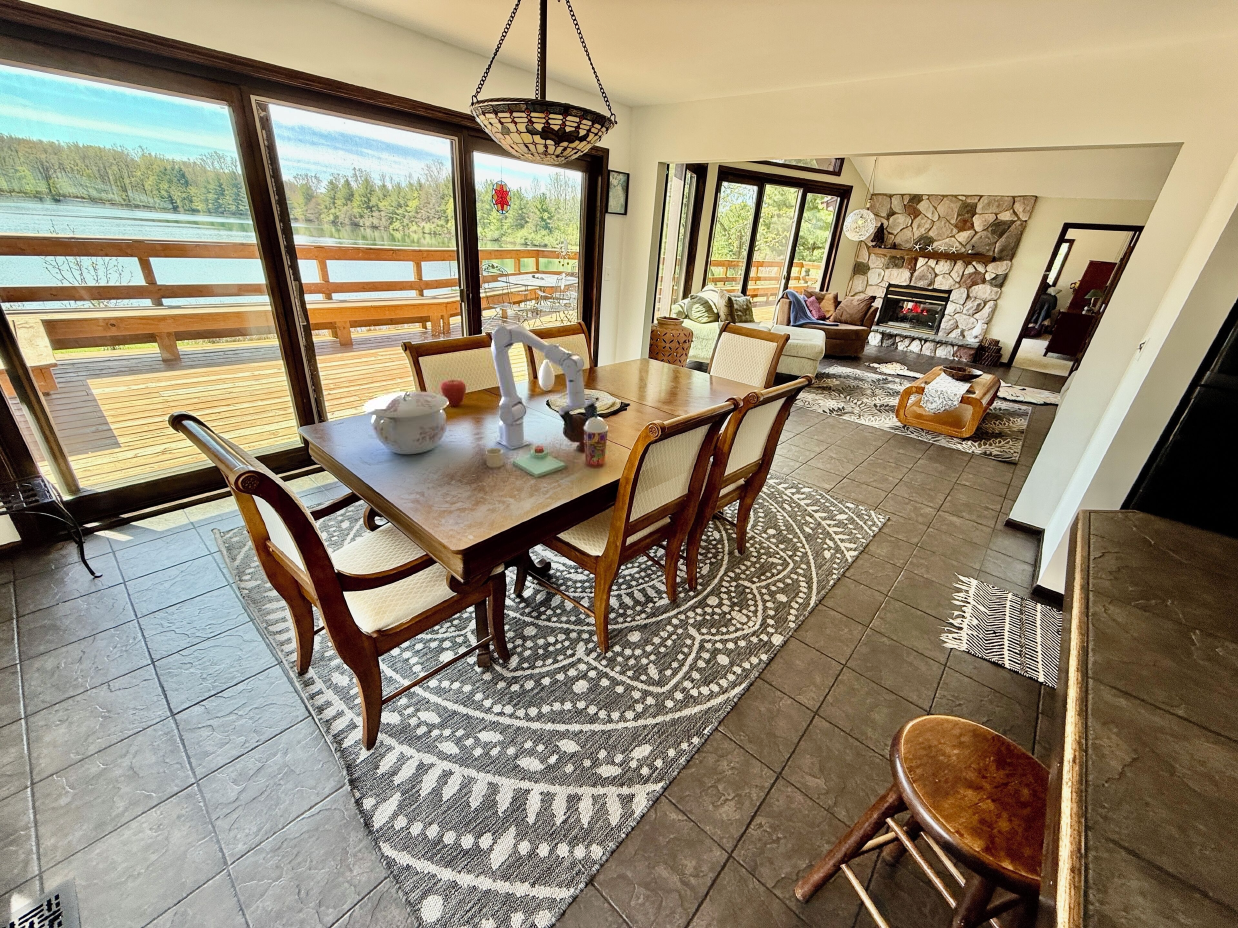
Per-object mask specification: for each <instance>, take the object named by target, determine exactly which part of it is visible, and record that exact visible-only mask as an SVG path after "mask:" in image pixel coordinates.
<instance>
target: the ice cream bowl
mask: <svg viewBox="0 0 1238 928" xmlns="http://www.w3.org/2000/svg"><path fill="white" fill-rule="evenodd" d="M572 415H573V419H572V425H573V433H570V432H568V430H567V427H566V425H565V423H564V422H563V427H562V434H563V436H564V437H565V438H566V439H567V440H568V441H569V442H571V443H576V449H575V450H576V451H577V452H578V453H585V443H584V425H585V424H586V422H587V419H586V416H583V415H580V414H572Z"/></svg>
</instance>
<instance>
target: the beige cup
mask: <svg viewBox="0 0 1238 928" xmlns="http://www.w3.org/2000/svg"><path fill="white" fill-rule="evenodd" d="M485 458H486V465H487V466H488V468H492V469H493V468H501V467H502V466H503V465H504V451H503V449H502V448H498V447H493V448H488V449H486V450H485Z"/></svg>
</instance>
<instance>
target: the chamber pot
mask: <svg viewBox="0 0 1238 928" xmlns="http://www.w3.org/2000/svg"><path fill="white" fill-rule="evenodd" d="M448 403H449V401H448V399H447V398H446V397H444V396H443V394H439V393H436V392H429V391H419V390H418V391H417V390H416V391H412V390H411V391H410V390H409V391H408V390H407V391H399V392H392V393H387V394H383V395H379V396H377V397H375V398H372V399H370V400H368V401H367V402H366V403H364V406H363V411H365V412H366V413H367V414H369V415H371V419H370V423H371V429H372V431H373V434H374V435H375V438H376V439H377V440H378V441H379V442H380V443H381V444H382V445H383V446H384V447H385V448H386V449H387V450H388V451H390V452H391V453H394V454H400V455H417V454H422V453H425V452H428V451H432V450H433V449H435V448H436V447H437V446H438V445H439V444H440V443H441V441H442V439H443V437H444V436H445V434H446V431H447V422H448V421H447V414H446V411H445V410H444V409H445V408H446V407H447V406H448V405H449V404H448Z"/></svg>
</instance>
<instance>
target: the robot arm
mask: <svg viewBox="0 0 1238 928" xmlns="http://www.w3.org/2000/svg"><path fill="white" fill-rule="evenodd" d="M491 338H492V340H491V345H490V351H491V354H492V359H493V364H494V368H495V373H496V377H497V381H498V385H499V389H500V395H501V400H500V401H499V404H498V407H499V411H498V416H499V419H500V422H499V425H498V433H499V440H497V443H499V444H500V445H503V446H504V447H506V448H508V449H509V450H514V449H517V448H521V447H525V446H528V445H530V442H528V441H526V440H525V429H524V427H525V426H524V417H525V416H526V415H527V407H526V405H525V404H524V401H523V398H522V397H521V396H520V395H518V392H517V388H516V382H515V378H514V374H513V369H512V364H511V359H510V354H509V351H510V350H511V348H513V346H514V344H526V345H527V346H528V347H529V346H530V347H531V348H533V349H534V350H537V351H539V352H540V353H543V356H544V358H545V360H546V359H547V360H549V362H551V364H552V363H553V364H554V365H556V366H557V367H559V368H560V369H561V371H562V373H563V374H564V376H565V382H566V383H565V384H566V389H567V390H566V391H567V399H568V403H567V404H565V405H563V406H561V407H558V414H559V415H558V416H559V417H560V418H561V419H562V421H563V424H564V423H565V425H566V427H567V430H568V432H570V433H573V425H572V419H573V415H574V414H571V412H575V411H577V410H581V409H583V410H584V414H585V418H586V419H587V421H588V420H589V419H590V418H592V417H595V410H597V411H598V406H597V399H596V398H589V399H586V394H585V393H586V392H585V383H584V375H583V368H584V366H585V361H584V359H583V357H582V356H581V355H580V354H579V353H573V354H572V352H571V351H570V350H569V351H567V350H566V349H564V348H562V347H561V346H560V344H559V343H554V342H553V343H547V342H546V341H545V340H543V339H541V337H539V336H537V335H535V334H534V333H533V332H531V331H530V330H528V329H527V328H526V326H524V325H522V324H520V323H519V322H516V321H513V322H510V323H507V324H503V325H498V326H496V327H495V328H494V330H493V331H492V332H491Z"/></svg>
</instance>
